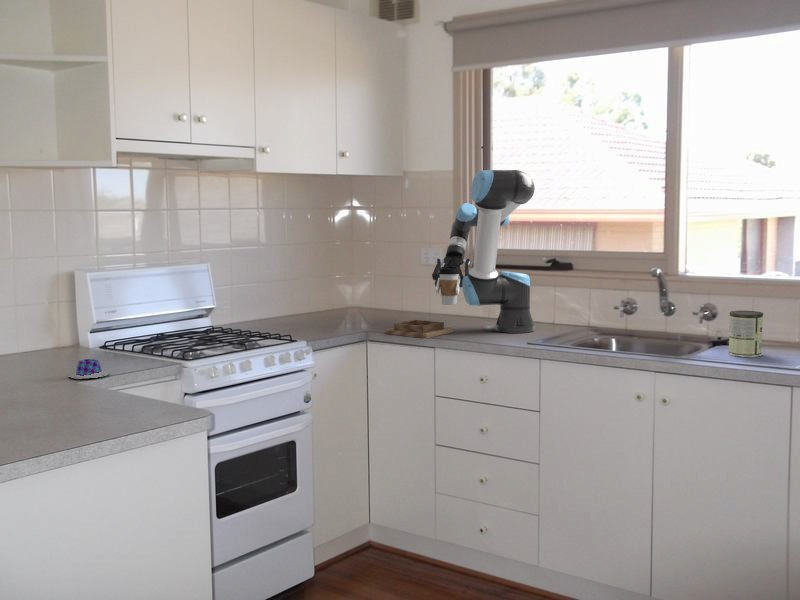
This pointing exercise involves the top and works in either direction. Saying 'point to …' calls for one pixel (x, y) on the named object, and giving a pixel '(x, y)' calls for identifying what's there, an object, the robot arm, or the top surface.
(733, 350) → the coffee can
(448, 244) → the robot arm
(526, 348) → the top surface
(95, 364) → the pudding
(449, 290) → the coffee cup
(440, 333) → the cup rack
